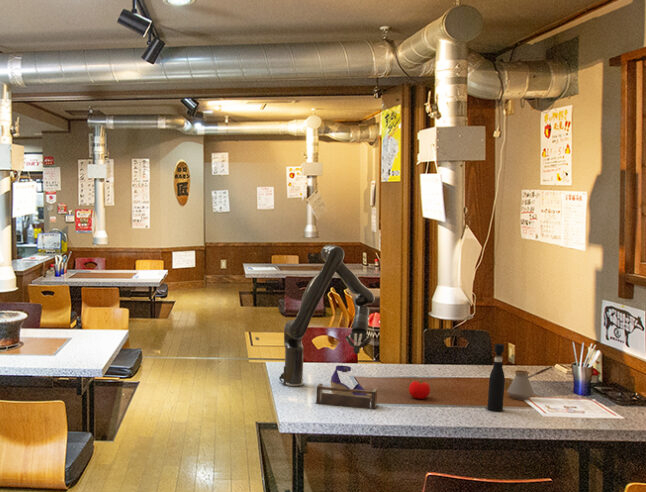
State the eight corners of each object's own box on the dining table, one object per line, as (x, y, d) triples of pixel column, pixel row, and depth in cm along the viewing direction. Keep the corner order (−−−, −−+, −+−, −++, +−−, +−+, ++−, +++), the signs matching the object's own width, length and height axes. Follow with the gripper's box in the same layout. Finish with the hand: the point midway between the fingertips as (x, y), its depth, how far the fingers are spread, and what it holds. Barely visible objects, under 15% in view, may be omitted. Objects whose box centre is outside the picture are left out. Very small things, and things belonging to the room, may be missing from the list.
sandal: (372, 399, 359) (374, 368, 356) (330, 397, 363) (331, 366, 360) (371, 395, 367) (373, 364, 364) (330, 393, 370) (331, 363, 368)
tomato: (404, 397, 361) (405, 380, 360) (417, 394, 367) (418, 377, 366) (421, 401, 354) (422, 384, 353) (434, 398, 360) (435, 381, 359)
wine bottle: (484, 407, 343) (488, 343, 338) (498, 407, 344) (502, 343, 339) (491, 411, 337) (496, 346, 332) (505, 411, 338) (510, 345, 333)
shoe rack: (316, 403, 352) (316, 386, 351) (319, 399, 358) (319, 383, 357) (374, 409, 342) (375, 392, 341) (376, 405, 349) (377, 388, 347)
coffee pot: (515, 401, 354) (517, 370, 351) (502, 395, 365) (504, 365, 362) (557, 400, 356) (560, 369, 354) (543, 393, 367) (545, 363, 365)
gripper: (346, 319, 381) (341, 348, 372) (373, 321, 377) (369, 349, 368) (347, 328, 387) (343, 356, 378) (374, 329, 382) (370, 358, 373)
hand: (356, 353), depth 373 cm, fingers closed
